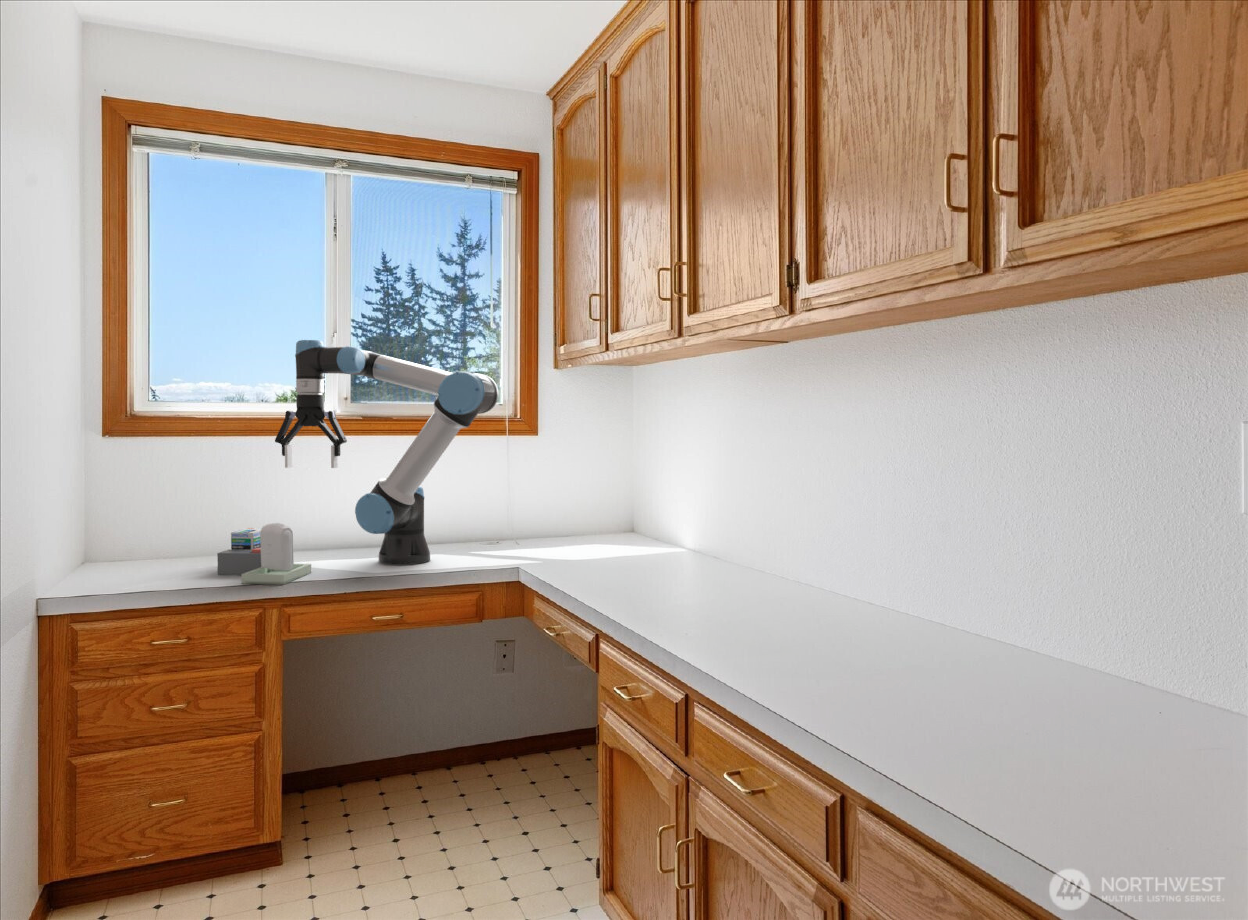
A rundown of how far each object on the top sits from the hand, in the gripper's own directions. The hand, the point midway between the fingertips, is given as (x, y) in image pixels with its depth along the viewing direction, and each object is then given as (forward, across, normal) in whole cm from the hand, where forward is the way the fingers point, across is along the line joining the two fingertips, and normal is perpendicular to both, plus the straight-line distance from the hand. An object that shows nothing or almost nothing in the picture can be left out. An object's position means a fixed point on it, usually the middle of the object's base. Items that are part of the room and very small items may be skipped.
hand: (311, 467), depth 243 cm
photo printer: (+26, -2, -19) cm, 33 cm away
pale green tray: (+29, -2, -19) cm, 34 cm away
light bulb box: (+29, -17, -3) cm, 34 cm away
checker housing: (+29, -13, -12) cm, 34 cm away
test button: (+27, -10, -12) cm, 31 cm away
